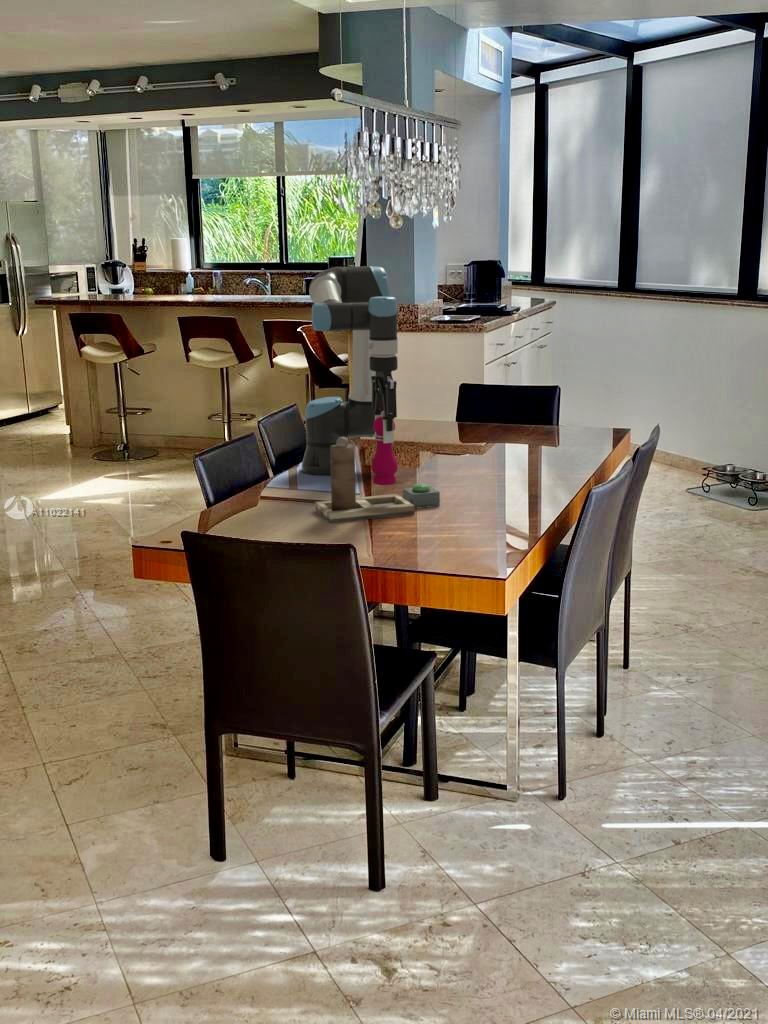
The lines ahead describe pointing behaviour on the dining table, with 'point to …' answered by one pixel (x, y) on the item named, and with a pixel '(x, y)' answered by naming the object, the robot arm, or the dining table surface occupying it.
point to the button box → (422, 497)
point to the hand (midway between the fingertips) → (384, 440)
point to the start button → (421, 487)
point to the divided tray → (367, 508)
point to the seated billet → (342, 475)
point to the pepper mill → (383, 457)
